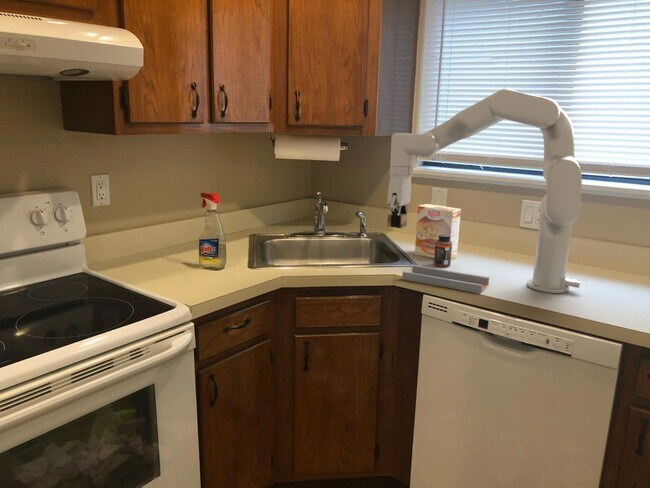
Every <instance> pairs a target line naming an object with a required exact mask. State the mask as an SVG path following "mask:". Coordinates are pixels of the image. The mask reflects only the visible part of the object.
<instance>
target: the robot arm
mask: <svg viewBox="0 0 650 488" xmlns="http://www.w3.org/2000/svg"><path fill="white" fill-rule="evenodd" d="M503 120H507V121H511V122H514V123H518V124H523V125H527V126H531V127H534V128H538V129H539V130H540V131H541V133H542V137H543V167H542V174H543V175H542V176H543V178H544V180H545V182H546V191H545V192H546V194H544V196H543V197H542V198H541V202H540V205H539V220H538V221H539V224H538V235H537V240H536V248H535V249H536V250H535V257H534V267H533V275H532V278H530V279H528V280H527V281H526V285H527V286H528V288H530V289H533V290H535V291H538V292H543V293H548V294H562V293H567V292H569V290H570V287H572V288H577V289H579V288H580V286H581V281H578V280H576V279H570V278H569V277H568V274H566V273H567V267H568V266H567V265H568V259H569V253H570V252H569V251H570V244H571V237H572V229H573V228H572V227H573V223H575V222H576V221H577V220H578V218H579V217H580V214H581V209H582V208H581V207H582V190H583V189H582V186H583V185H582V182H583V179H582V178H583V177H582V175H583V174H582V170H581V166H580V165H579V163H578V162H577V161H576V160H575V135H574V133H575V131H574V126H573V123H572V120H571V119H570V118H569V116H568V114H567V113H566V112H565V110H563V109H562V108H561V107H560V106H559V104H558V103H557V102H556V101H555V100H554V99H552V98H549V97H544V96H539V95H535V94H530V93H525V92H521V91H517V90H515V89H511V88H510V89H509V88H502V89H500V90H498V91H496V92H494V93H492V94H490V95H489V96H487V97H484V98H483V99H481V100H479V101H477V102H475V103H474V104H472V105H469V106H468V107H467V108H464V109H462V110H461V111H459V112H457V113H456V114H455V115H453V116H452V117H450V118H449V119H448V120H445V121H444V122H442V123H441V124H439V125H437V126H435V127H434V128H432V129H430V130H428V131H425V132H423V133H421V134H420V133H419V134H418V133H417V134H413V133H411V132H410V133H408V132H396V133H393V134H392V135H391V141H390V142H391V143H390V163H389V164H390V166H389V176H390V177H389V182H388V191H387V199H386V201H387V202H386V204H387V205H388V207H389V209H390V214H391V226H392V227H391V228H394V227H400V223H401V215H400V213H401V214H407V215H408V209H409V204H410V202H411V201H412V199H411V198H412V177H413V176H414V159H415V157H420V158H429V157H432V156H434V155H435V154H436V153H437V152H439V151H441V150H443V149H446V148H447V147H448V146H450V145H453V144H454V143H456V142H459V141H461V140H464V139H468V138H471V137H473V136H475V135H476V134H479V133H481V132H482V131H485V130H487V129H488V128H490V127H492V126H494V125H495V124H498V123H500V122H502V121H503Z"/></svg>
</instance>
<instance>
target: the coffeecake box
mask: <svg viewBox="0 0 650 488" xmlns="http://www.w3.org/2000/svg"><path fill="white" fill-rule="evenodd" d="M461 212H462V208H457V207H450V206H443V205H439V204H438V205H436V204H430V203H425V204H420V205H419V204H418V206H417V218H416V230H415V243H414V244H415V246H414V248H415V249H414V255H416V256H423V257H426V258H431V259H434V257H435V244H436V241H437V240H439V235H440V234H446V235H450V241H451V242H452V252H451V261H452V260H456V259H457V258H458V257H457V256H458V249H459V247H458V245H459V236H460V234H459V233H460V225H461V214H462V213H461Z"/></svg>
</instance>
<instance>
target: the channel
mask: <svg viewBox="0 0 650 488" xmlns="http://www.w3.org/2000/svg"><path fill="white" fill-rule="evenodd" d="M411 268H412V269H411V271H406V270H405V271H402V277H401V280H404V281H409V282H410V281H411V282H415V283H416V282H417V283H421V284H427V285H430V286H431V285H432V286H438V287H443V288H450V289H455V290H460V291H465V292H470V293H477V294H482V293H483V292H484V291H485V290H486V288H487V287H488V286H489V285H490V276H484V275H479V274H478V275H477V274H472V273H465V272H461V271H460V272H459V271H452V270H447V269H441V268H435V267H429V266H428V267H427V266H423V265H417V264H413V265H412V266H411Z"/></svg>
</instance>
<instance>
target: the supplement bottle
mask: <svg viewBox="0 0 650 488" xmlns="http://www.w3.org/2000/svg"><path fill="white" fill-rule="evenodd" d="M451 252H452V242H451V241H450V235H446V234H440V235H439V240H437V241H436V244H435V257H434V258H433V264H434V265H435V266H436V267H438V268H439V267H440V268H448V267H450V266H451V264H452V260H451Z"/></svg>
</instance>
